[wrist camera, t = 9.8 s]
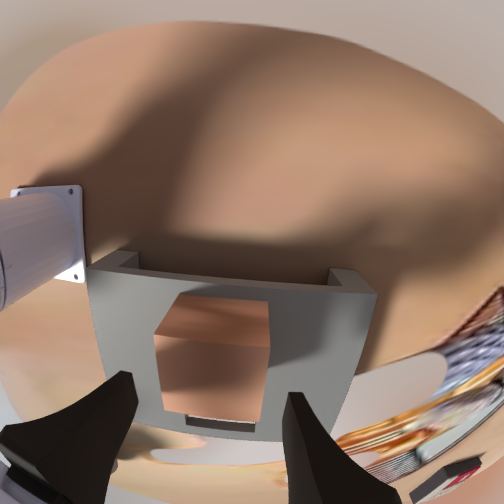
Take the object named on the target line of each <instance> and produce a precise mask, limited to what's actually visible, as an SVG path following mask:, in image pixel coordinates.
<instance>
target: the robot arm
mask: <svg viewBox="0 0 504 504" xmlns="http://www.w3.org/2000/svg"><path fill="white" fill-rule="evenodd" d="M71 189H72V190H73V194H72V193H71ZM85 268H86V262H85V251H84V237H83V213H82V188H81V186H80V185H65V186H45V187H30V188H18V189H12V191H11V198H7V199H2V200H0V312H1V311H2V310H4V309H5V308H7V307H8V306H10V305H11V304H13V303H14V302H16V301H17V300H19V299H20V298H22V297H24V296H25V295H27V294H28V293H30V292H31V291H33V290H35V289H36V288H38V287H39V286H41V285H43V284H44V283H46V282H48V281H49V280H51V279H53V278H56V279H61V280H67V281H72V282H78V283H84V282H85V281H86V274H85ZM76 274H77V275H78V278H77V276H76ZM138 403H139V400H138V396H137V392H136V388H135V383H134V379H133V374H132V373H131V372H127V371H122V370H120V371H119V372H118V373H116V374H115V375H114V376H112V377H111V378H110V379H108V380H107V381H106V382H104V383H103V384H102V385H101V386H99V387H98V388H96V389H95V390H94V391H92V392H91V393H89V394H88V395H86V396H85V397H83V398H82V399H80V400H79V401H77V402H76V403H74V404H72V405H70V406H68V407H66V408H64V409H62V410H60V411H58V412H56V413H53V414H51V415H48V416H46V417H43V418H40V419H36V420H33V421H29V422H24V423H19V424H12V425H6V426H5V427H4V428H3V429H2V431H1V432H0V451H1V453H2V454H3V455H4V457H5V458H6V459H7V460H8V461H9V462H10V463H11V467H10V468H9V467H8V466H7V465H5V464H4V463H3V462H2V461H0V504H104V502H105V496H106V492H107V486H108V483H109V479H110V475H111V471H112V468H113V465H114V461H115V458H116V456H117V453H118V451H119V449H120V447H121V444H122V442H123V440H124V438H125V436H126V434H127V432H128V430H129V428H130V426H131V423H132V421H133V419H134V416H135V413H136V410H137V407H138ZM282 440H283V447H284V454H285V461H286V468H287V475H288V489H289V504H402V502H401V499H400V496H399V494H398V492H397V490H396V489H395V488H393V487H391V486H389V485H387V484H385V483H384V482H382V481H380V480H378V479H377V478H375V477H374V476H372V475H371V474H369V473H368V472H367V471H365V470H364V469H363V468H362V467H360V466H359V465H358V464H357V463H355V462H354V461H353V460H352V459H351V458H350V457H349V456H348V455H347V454H346V453H345V452H344V451H343V450H342V449H341V448H340V447H339V446H338V445H337V444H336V442H335V441H334V440H333V439H332V438H331V436H330V435H329V434H328V432H327V431H326V430H325V428H324V427H323V425H322V424H321V422H320V421H319V420H318V418H317V416H316V415H315V413H314V412H313V410H312V408H311V406H310V405H309V403H308V401H307V399H306V397H305V395H304V393H303V392H288V396H287V401H286V405H285V409H284V413H283V417H282Z"/></svg>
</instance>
